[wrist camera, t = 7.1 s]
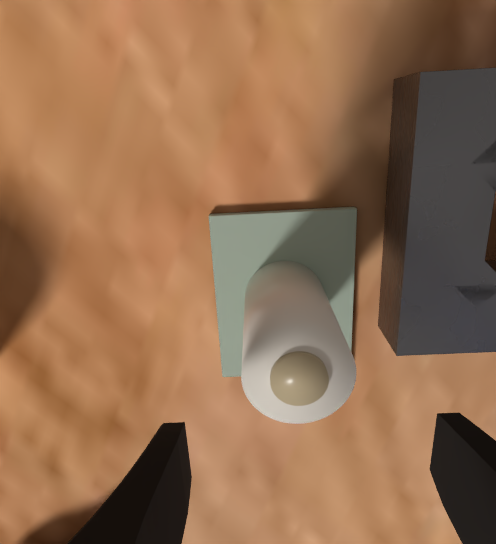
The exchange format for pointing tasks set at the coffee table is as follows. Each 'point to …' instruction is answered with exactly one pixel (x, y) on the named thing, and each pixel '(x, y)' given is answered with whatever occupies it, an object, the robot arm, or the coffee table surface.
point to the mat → (279, 247)
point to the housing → (440, 215)
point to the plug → (293, 346)
